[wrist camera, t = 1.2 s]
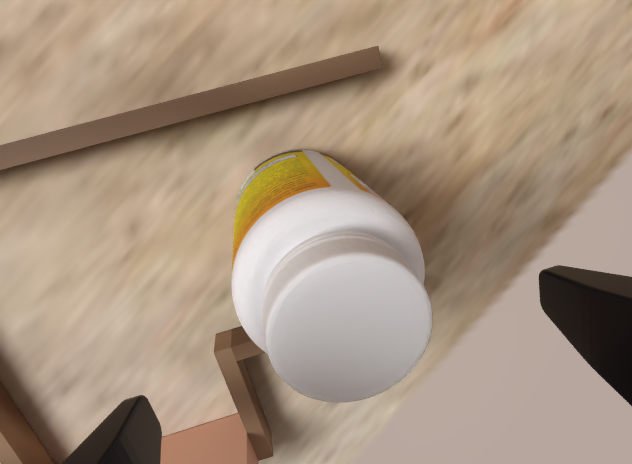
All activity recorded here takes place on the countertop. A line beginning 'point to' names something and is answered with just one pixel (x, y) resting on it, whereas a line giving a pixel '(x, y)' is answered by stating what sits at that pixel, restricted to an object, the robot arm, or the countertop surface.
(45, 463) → the walnut track
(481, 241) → the countertop surface
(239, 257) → the supplement bottle
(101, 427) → the robot arm
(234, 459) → the stop block
